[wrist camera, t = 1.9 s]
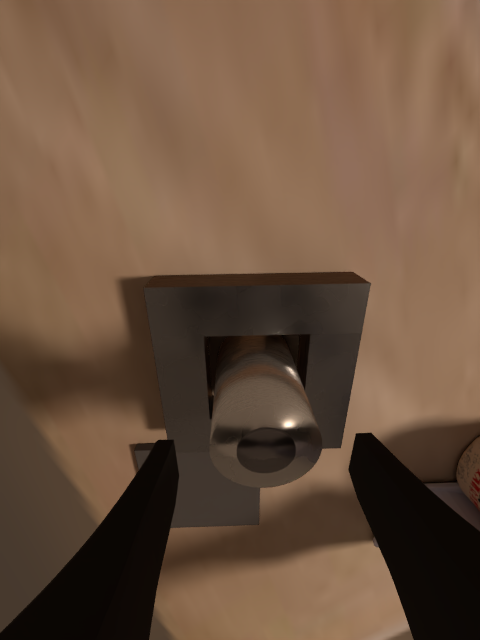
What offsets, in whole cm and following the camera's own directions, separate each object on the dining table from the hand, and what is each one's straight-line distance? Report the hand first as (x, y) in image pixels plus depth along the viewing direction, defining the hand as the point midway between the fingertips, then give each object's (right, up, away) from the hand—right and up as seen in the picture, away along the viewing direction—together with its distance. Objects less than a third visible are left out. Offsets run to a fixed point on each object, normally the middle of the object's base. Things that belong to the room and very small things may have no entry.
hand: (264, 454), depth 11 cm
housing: (0, +3, +7) cm, 7 cm away
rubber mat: (-4, -8, +11) cm, 14 cm away
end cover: (0, +3, +7) cm, 7 cm away
